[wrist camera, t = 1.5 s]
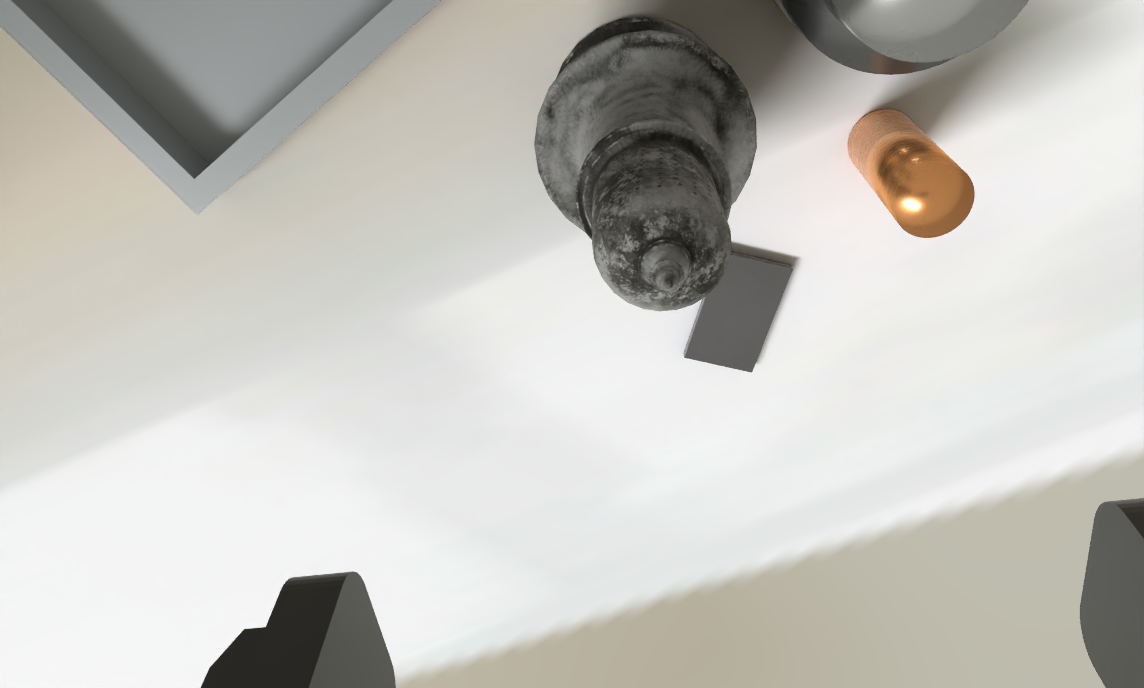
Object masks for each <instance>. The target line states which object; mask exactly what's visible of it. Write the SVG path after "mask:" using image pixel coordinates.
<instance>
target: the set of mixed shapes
mask: <svg viewBox="0 0 1144 688" xmlns="http://www.w3.org/2000/svg"><path fill="white" fill-rule="evenodd" d="M775 2H776V4H777V5H778V7H779V8H780V9H781V11H782V12H783V13H784V15H785V16H786V17H787V18H788V19H789V20H790V21H791V22H792V23H793V24H794V25H795V26H796V27H797V29H798V30H799V31H800V32H801V33H802V34H803V35H804V36H805V37H806V38H807V39H808V40H809V41H810V42H811V43H812V44H813V45H814V46H815V47H816V48H817V49H818V50H820V51H821V52H823V53H824V54H825V55H827V56H828V57H829V58H831V59H833V60H835V61H837V62H839V63H840V64H842V65H844V66H847V67H850V68H853V69H856V70H859V71H863V72H868V73H874V74H889V75H893V74H906V73H912V72H916V71H921V70H925V69H928V68H931V67H934V66H937V65H940V64H942V63H945V62H947V61H949V60H951V59H953V58H950V59H946V60H942V61H935V62H927V63H925V62H907V61H901V60H897V59H894V58H890V57H887V56H885V55H883V54H881V53H879V52H877V51H875V50H873V49H872V48H870V47H869V46H867V45H866V44H865V43H863V42H862V41H861V40H860V39H859V38H857V37H856V36H855V35H854V34H853V33H851V32H850V31H849V30H848V29H847V28H845V27H844V26H843V25H842V24H841V23H840V22H839V21H838V20H837V19H836V18H835V17H834V16H833V14H832V13H831V12H830V11H829V9H828V8H827V6H826V4H825V3H824V1H823V0H775ZM954 58H955V57H954ZM848 153H849V157H850V159H851V161H852V162H853V164H854V165H855V166H856V168H857V169H858V170H859V172H860V173H861V174H862V176H863V177H864V178H865V180H866V181H867V182H868V184H869V185H870V186H871V188H872V189H873V190H874V192H875V193H876V194H877V196H878V197H879V198H880V200H881V201H882V202H883V204H884V205H885V206H886V208H887V209H888V210H889V212H890V213H891V214H892V216H893V217H894V218H895V220H896V221H897V222H898V224H899V225H900V226H901V227H902V228H903V229H904V230H905V231H906V232H908V233H909V234H911V235H914V236H917V237H922V238H932V237H938V236H941V235H944V234H946V233H948V232H950V231H952V230H953V229H955V228H956V227H958V226H959V225H960V224H961V223H962V222H963V221H964V220H965V218H966V217H967V216H968V214H969V212H970V210H971V208H972V205H973V202H974V186H973V183H972V181H971V179H970V177H969V176H968V175H967V174H966V173H965V172H964V171H963V170H962V169H961V168H960V167H959V166H958V165H957V164H956V163H955V162H954V161H953V160H952V159H951V158H950V157H949V156H948V155H947V154H946V153H944V152H943V151H942V150H941V149H940V148H939V147H938V146H937V145H936V144H935V143H934V142H933V141H932V140H931V139H930V138H929V137H928V136H927V135H926V134H925V133H924V132H923V131H921V130H920V129H919V128H918V127H917V126H916V125H915V124H914V123H913V122H912V121H911V120H910V119H909V118H908V117H907V116H906V115H904V114H903V113H901V112H899V111H897V110H893V109H880V110H876V111H873V112H871V113H869V114H867V115H865V116H864V117H863V118H861V119H860V120H859V121H858V122H857V123H856V125H855V126H854V127H853V129H852V131H851V133H850V135H849V139H848ZM792 270H793V268H792V266H791V265H788V264H784V263H780V262H775V261H771V260H767V259H763V258H758V257H754V256H750V255H746V254H741V253H737V252H733V251H730V256H729V260H728V264H727V269H726V271H725V273H724V275H723V276H722V278H721V280H720V282H719V284H718V285H717V286H716V287H715V288H714V289H713V290H712V291H711V292H710V293H709V294H708V295H707V296H706V297H704V298H703V299H702V302H701V305H700V308H699V310H698V313H697V316H696V319H695V322H694V325H693V328H692V330H691V333H690V336H689V339H688V342H687V345H686V348H685V351H684V358H689V359H693V360H698V361H702V362H707V363H711V364H716V365H720V366H725V367H729V368H734V369H738V370H743V371H747V372H752V371H753V368H754V366H755V363H756V361H757V358H758V356H759V353H760V351H761V348H762V346H763V343H764V340H765V338H766V335H767V333H768V330H769V328H770V325H771V323H772V320H773V318H774V315H775V313H776V310H777V308H778V305H779V303H780V300H781V298H782V295H783V293H784V290H785V288H786V285H787V282H788V280H789V277H790V275H791V272H792Z"/></svg>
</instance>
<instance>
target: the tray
mask: <svg viewBox="0 0 1144 688" xmlns="http://www.w3.org/2000/svg"><path fill="white" fill-rule="evenodd" d="M440 1H441V0H0V26H1V27H2V28H3V29H4V30H5V31H6V32H7V33H8V34H9V35H10V36H11V37H12V38H13V39H14V40H15V41H16V42H17V43H18V44H20V45H21V46H22V47H23V48H24V49H25V50H26V51H27V52H28V53H29V54H30V55H31V56H32V57H33V58H34V59H35V60H36V61H37V62H38V63H39V64H40V65H41V66H42V67H43V68H45V69H46V70H47V71H48V72H49V73H50V74H51V75H52V76H53V77H54V78H55V79H56V80H57V81H58V82H59V83H60V84H61V85H62V86H63V87H64V88H65V89H66V90H67V91H68V92H70V93H71V94H72V95H73V96H74V97H75V98H76V99H77V100H78V101H79V102H80V103H81V104H82V105H83V106H84V107H85V108H86V109H87V110H88V111H89V112H90V113H91V114H92V115H94V116H95V117H96V118H97V119H98V120H99V121H100V122H101V123H102V124H103V125H104V126H105V127H106V128H107V129H108V130H109V131H110V132H111V133H112V134H113V135H114V136H115V137H116V138H117V139H119V140H120V141H121V142H122V143H123V144H124V145H125V146H126V147H127V148H128V149H129V150H130V151H131V152H132V153H133V154H134V155H135V156H136V157H137V158H138V159H139V160H140V161H141V162H143V163H144V164H145V165H146V166H147V167H148V168H149V169H150V170H151V171H152V172H153V173H154V174H155V175H156V176H157V177H158V178H159V179H160V180H161V181H162V182H163V183H164V184H165V185H166V186H168V187H169V188H170V189H171V190H172V191H173V192H174V193H175V194H176V195H177V196H178V197H179V198H180V199H181V200H182V201H183V202H184V203H185V204H186V205H187V206H188V207H189V208H190V209H192V210H193V211H194V212H195V213H196V214H197V215H198V214H200V213H201V212H202V211H203V210H204V209H205V208H206V207H207V206H209V205H210V204H211V203H212V202H213V201H214V200H215V199H217V198H218V197H219V196H220V195H221V194H222V193H223V192H224V191H226V190H227V189H228V188H229V187H230V186H231V185H232V184H234V183H235V182H236V181H237V180H238V179H239V178H240V177H242V176H243V175H244V174H245V173H246V172H247V171H248V170H249V169H251V168H252V167H253V166H254V165H255V164H256V163H257V162H259V161H260V160H261V159H262V158H263V157H264V156H265V155H267V154H268V153H269V152H270V151H271V150H272V149H273V148H274V147H276V146H277V145H278V144H279V143H280V142H281V141H282V140H284V139H285V138H286V137H287V136H288V135H289V134H290V133H292V132H293V131H294V130H295V129H296V128H297V127H298V126H299V125H301V124H302V123H303V122H304V121H305V120H306V119H307V118H309V117H310V116H311V115H312V114H313V113H314V112H315V111H317V110H318V109H319V108H320V107H321V106H322V105H323V104H324V103H326V102H327V101H328V100H329V99H330V98H331V97H332V96H334V95H335V94H336V93H337V92H338V91H339V90H340V89H342V88H343V87H344V86H345V85H346V84H347V83H348V82H349V81H351V80H352V79H353V78H354V77H355V76H356V75H357V74H359V73H360V72H361V71H362V70H363V69H364V68H365V67H366V66H368V65H369V64H370V63H371V62H372V61H373V60H374V59H376V58H377V57H378V56H379V55H380V54H381V53H382V52H384V51H385V50H386V49H387V48H388V47H389V46H390V45H391V44H393V43H394V42H395V41H396V40H397V39H398V38H399V37H401V36H402V35H403V34H404V33H405V32H406V31H407V30H409V29H410V28H411V27H412V26H413V25H414V24H415V23H416V22H418V21H419V20H420V19H421V18H422V17H423V16H424V15H426V14H427V13H428V12H429V11H430V10H431V9H432V8H434V7H435V6H436V5H437V4H438V3H439V2H440Z"/></svg>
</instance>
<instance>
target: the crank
mask: <svg viewBox="0 0 1144 688" xmlns="http://www.w3.org/2000/svg"><path fill="white" fill-rule="evenodd" d="M823 1H824V3H825V4H826V6H827V8H828V9H829V11H830V12H831V13H832V14H833V16H834V17H835V18H836V19H837V20H838V21H839V22H840V23H841V24H842V25H843V26H844V27H845V28H847V29H848V30H849V31H850V32H851V33H853V34H854V35H855V36H856V37H857V38H859V39H860V40H861V41H862V42H863V43H865V44H866V45H867V46H869V47H870V48H872V49H873V50H875V51H877V52H879V53H881V54H883V55H885V56H887V57H890V58H894V59H897V60H901V61H907V62H925V63H927V62H935V61H942V60H946V59H950V58H954V57H957V56H959V55H962V54H965V53H967V52H969V51H971V50H973V49H975V48H977V47H979V46H981V45H983V44H984V43H986V42H987V41H989V40H990V39H992V38H993V37H994V36H996V35H997V34H998V33H999V32H1000V31H1002V30H1003V29H1004V28H1005V27H1006V26H1007V25H1008V24H1009V23H1010V22H1011V21H1012V20H1013V19H1014V18H1015V17H1016V16H1017V15H1018V14H1019V12H1020V11H1021V10H1022V9H1023V7H1024V6H1025V5H1026V3H1027V2H1028V0H823Z"/></svg>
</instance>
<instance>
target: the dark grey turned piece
mask: <svg viewBox="0 0 1144 688" xmlns="http://www.w3.org/2000/svg"><path fill="white" fill-rule="evenodd" d="M534 145H535V152H536V159H537V165H538V172H539V174H540V177H541V179H542V181H543V184H544V186H545V188H546V190H547V193H548V195H549V197H550V198H551V200H552V201H553V202H554V203H555V205H556V206H557V207H558V208H559V210H560V211H561V212H562V213H563V215H564V216H565V217H566V218H567V219H568V220H569V221H571V222H572V223H574V224H575V225H576V226H578V227H579V228H580V229H582V230H583V231H584V232H586V233H587V235H588V236H589V237H590V238H591V240H592V245H593V253H594V260H595V262H596V265H597V267H598V269H599V272H600V274H601V276H602V278H603V279H604V281H605V282H606V283H607V284H608V286H609V287H610V288H611V289H612V291H613V292H614V293H615V294H617V295H618V296H620V297H621V298H622V299H624V300H625V301H626V302H628V303H630V304H633V305H635V306H638V307H640V308H643V309H649V310H655V311H668V310H678V309H681V308H684V307H687V306H690V305H693V304H694V303H696V302H698V301H699V300H701V299H702V298H704V297H706V296H707V295H708V294H709V293H710V292H711V291H712V290H713V289H714V288H715V287H716V286H717V285H718V284H719V282H720V280H721V278H722V276H723V275H724V273H725V271H726V269H727V264H728V260H729V256H730V251H731V233H730V228H729V225H728V222H727V220H728V217H729V213H730V208H731V205H732V204H733V203H734V202H735V201H736V200H737V198H738V196H739V194H740V192H741V190H742V189H743V187H744V185H745V183H746V181H747V179H748V178H749V176H750V172H751V168H752V164H753V160H754V156H755V152H756V148H757V143H756V118H755V115H754V111H753V108H752V105H751V102H750V98H749V95H748V92H747V90H746V89H745V87H744V86H743V84H742V82H741V81H740V79H739V78H738V76H737V75H736V73H735V72H734V70H733V69H732V67H731V66H730V65H729V64H728V63H726V62H725V61H724V60H723V59H722V58H721V57H719V56H718V55H717V54H716V53H715V52H714V51H712V50H711V49H710V48H709V47H708V46H707V45H706V44H705V43H704V42H702V41H701V40H700V39H699V38H698V37H697V36H695V35H694V34H693V33H692V32H691V31H690V30H688V29H685V28H683V27H681V26H679V25H677V24H674V23H672V22H670V21H668V20H662V19H655V18H649V17H637V18H629V19H621V20H617V21H615V22H613V23H610V24H608V25H605V26H603V27H600V28H598V29H596V30H595V31H594V32H592V33H591V34H590V35H588V36H587V37H586V38H584V39H583V40H582V41H581V42H579V43H578V44H577V45H576V46H575V48H574V49H573V50H572V52H571V53H570V54H569V56H568V57H567V58H566V59H565V61H564V62H563V64H562V66H561V68H560V71H559V73H558V76H557V78H556V80H555V81H554V82H553V84H552V85H551V86H550V87H549V90H548V92H547V95H546V97H545V99H544V102H543V104H542V107H541V109H540V112H539V114H538V120H537V128H536V136H535V144H534Z"/></svg>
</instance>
